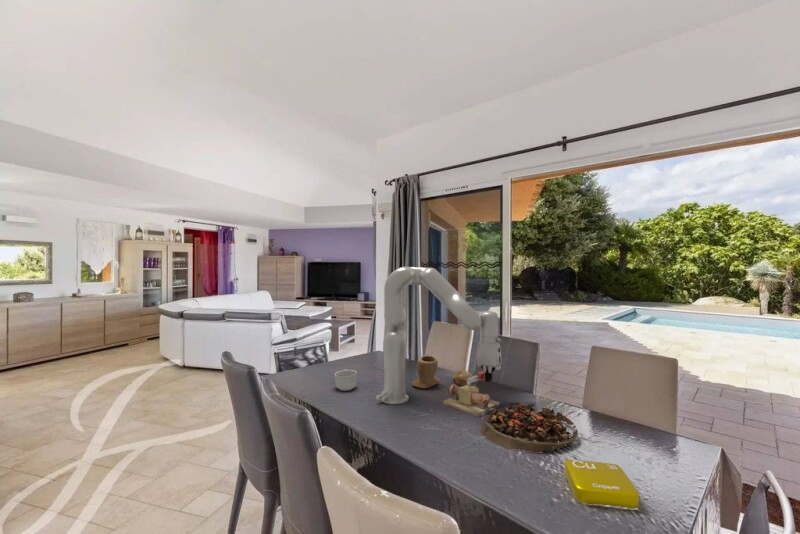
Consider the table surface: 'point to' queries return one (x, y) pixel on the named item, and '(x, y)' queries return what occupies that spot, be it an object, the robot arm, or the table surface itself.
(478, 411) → the beige board
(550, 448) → the food dish
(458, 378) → the bread roll
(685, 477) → the table surface
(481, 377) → the valve lever
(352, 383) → the teacup
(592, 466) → the element tile
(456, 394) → the valve pipe
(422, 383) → the stone cup
